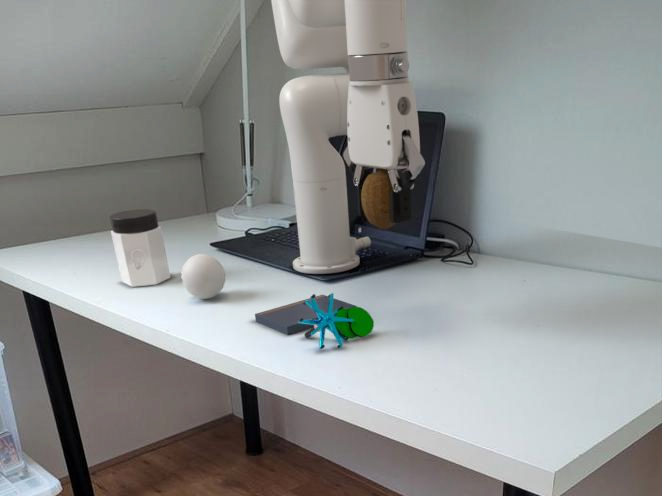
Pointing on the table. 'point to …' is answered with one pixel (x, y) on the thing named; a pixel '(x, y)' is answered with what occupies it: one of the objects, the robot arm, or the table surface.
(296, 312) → the notebook
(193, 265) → the white sphere
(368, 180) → the fruit
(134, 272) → the jar
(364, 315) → the stick construction toy
